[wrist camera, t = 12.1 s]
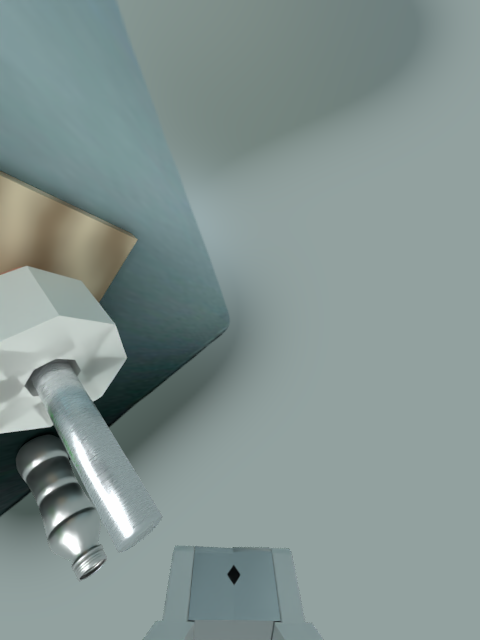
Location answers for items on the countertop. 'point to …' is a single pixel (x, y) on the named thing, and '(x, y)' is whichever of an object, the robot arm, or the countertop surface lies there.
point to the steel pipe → (96, 455)
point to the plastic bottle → (62, 504)
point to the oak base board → (58, 237)
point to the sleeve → (50, 341)
